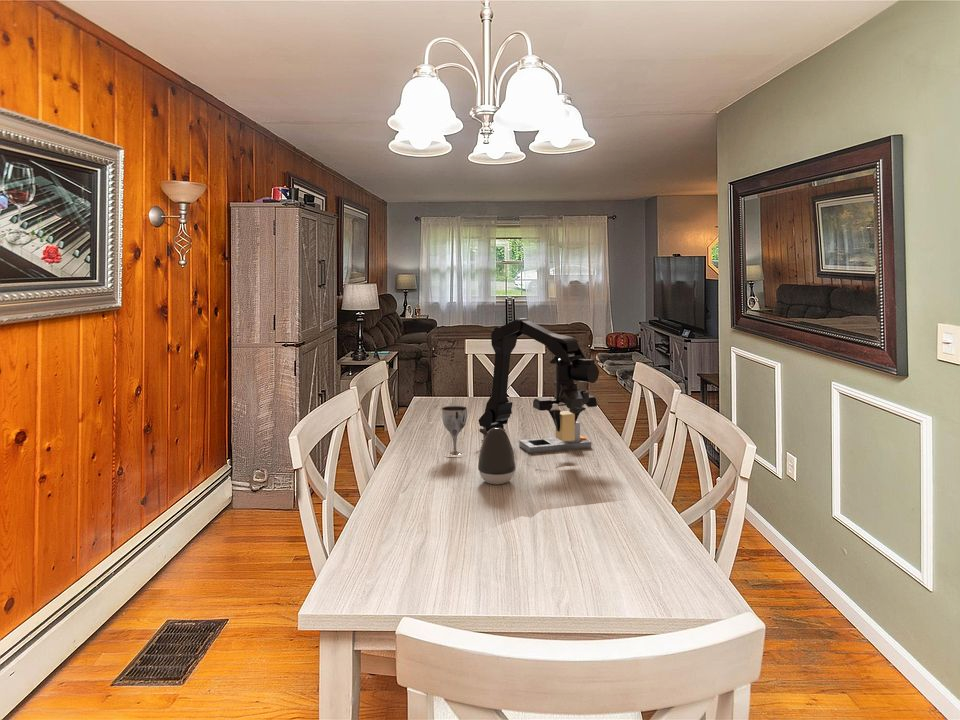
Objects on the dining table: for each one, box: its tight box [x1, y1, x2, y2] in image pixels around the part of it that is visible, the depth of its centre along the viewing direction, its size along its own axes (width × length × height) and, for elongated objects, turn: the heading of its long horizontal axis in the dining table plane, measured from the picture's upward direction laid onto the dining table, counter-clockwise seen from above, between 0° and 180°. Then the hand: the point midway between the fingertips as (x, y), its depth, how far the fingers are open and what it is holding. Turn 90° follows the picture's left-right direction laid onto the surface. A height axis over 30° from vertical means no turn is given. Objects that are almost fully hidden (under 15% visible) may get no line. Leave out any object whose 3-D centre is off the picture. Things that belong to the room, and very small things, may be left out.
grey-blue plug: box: [565, 420, 581, 443], centre depth 215 cm, size 4×5×8 cm
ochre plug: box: [555, 410, 575, 441], centre depth 201 cm, size 4×5×8 cm
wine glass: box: [441, 405, 468, 455], centre depth 209 cm, size 8×8×15 cm
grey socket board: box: [518, 435, 592, 455], centre depth 214 cm, size 21×10×4 cm, turn 106°
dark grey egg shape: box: [477, 427, 516, 485], centre depth 182 cm, size 10×10×15 cm
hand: (565, 430), depth 201 cm, fingers closed on ochre plug, 4 cm apart
